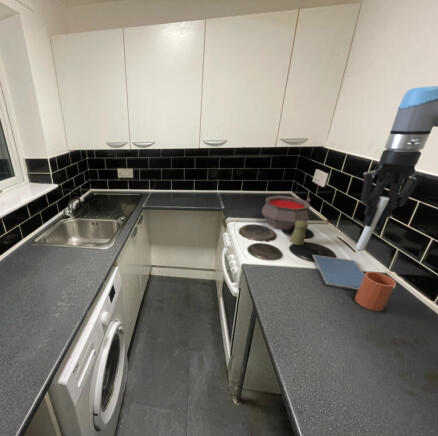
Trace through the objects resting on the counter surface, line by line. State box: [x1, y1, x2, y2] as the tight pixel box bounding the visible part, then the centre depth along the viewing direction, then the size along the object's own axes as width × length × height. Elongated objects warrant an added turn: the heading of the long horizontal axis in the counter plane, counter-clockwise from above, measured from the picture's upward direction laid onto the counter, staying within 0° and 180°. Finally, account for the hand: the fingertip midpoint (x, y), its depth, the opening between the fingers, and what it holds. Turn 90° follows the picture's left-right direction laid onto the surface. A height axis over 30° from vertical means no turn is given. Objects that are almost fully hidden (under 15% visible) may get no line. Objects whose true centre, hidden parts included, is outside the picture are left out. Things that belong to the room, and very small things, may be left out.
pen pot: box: [354, 271, 397, 312], centre depth 73 cm, size 7×7×10 cm
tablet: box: [311, 254, 365, 292], centre depth 89 cm, size 15×20×1 cm
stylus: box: [355, 196, 389, 252], centre depth 75 cm, size 2×2×20 cm
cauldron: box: [261, 194, 311, 231], centre depth 126 cm, size 24×24×16 cm
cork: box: [289, 220, 309, 246], centre depth 110 cm, size 6×6×11 cm
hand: (372, 225), depth 74 cm, fingers closed on stylus, 2 cm apart
